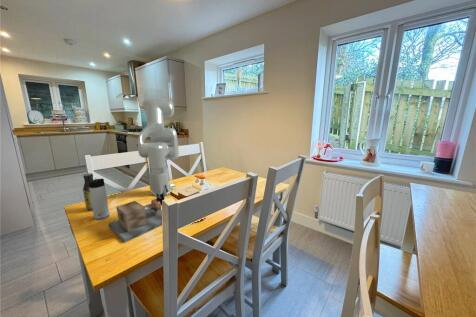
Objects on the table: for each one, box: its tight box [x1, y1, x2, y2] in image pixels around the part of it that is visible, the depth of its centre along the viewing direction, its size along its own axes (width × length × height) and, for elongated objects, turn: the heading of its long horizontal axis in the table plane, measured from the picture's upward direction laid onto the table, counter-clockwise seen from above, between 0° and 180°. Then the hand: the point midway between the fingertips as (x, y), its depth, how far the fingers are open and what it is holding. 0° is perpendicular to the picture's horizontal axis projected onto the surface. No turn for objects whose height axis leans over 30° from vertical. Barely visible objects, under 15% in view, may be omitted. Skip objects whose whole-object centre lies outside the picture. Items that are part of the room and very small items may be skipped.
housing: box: [107, 200, 163, 243], centre depth 91 cm, size 24×18×10 cm
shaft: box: [143, 198, 162, 212], centre depth 91 cm, size 14×6×6 cm, turn 141°
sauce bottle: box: [82, 172, 94, 212], centre depth 103 cm, size 6×6×20 cm
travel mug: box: [88, 178, 110, 221], centre depth 94 cm, size 6×7×20 cm
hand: (161, 204), depth 98 cm, fingers closed
